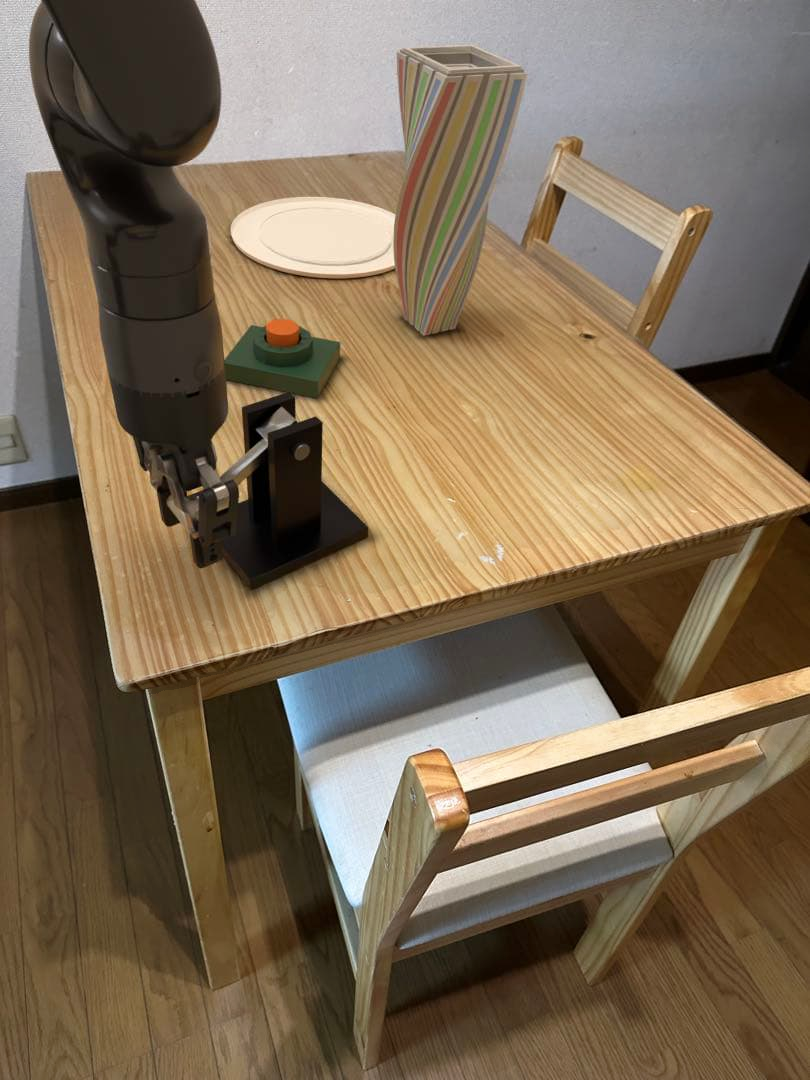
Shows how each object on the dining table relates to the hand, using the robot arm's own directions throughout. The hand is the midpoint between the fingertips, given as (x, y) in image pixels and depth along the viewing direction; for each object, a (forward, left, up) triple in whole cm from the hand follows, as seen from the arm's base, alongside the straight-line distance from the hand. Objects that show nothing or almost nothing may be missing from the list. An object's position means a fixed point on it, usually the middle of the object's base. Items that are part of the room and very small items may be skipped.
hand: (192, 540), depth 62 cm
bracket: (+6, +7, -4) cm, 9 cm away
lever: (+3, +4, +4) cm, 7 cm away
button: (-3, +33, 0) cm, 33 cm away
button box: (-3, +33, -4) cm, 33 cm away
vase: (+11, +50, -4) cm, 51 cm away
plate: (-9, +70, -4) cm, 70 cm away
